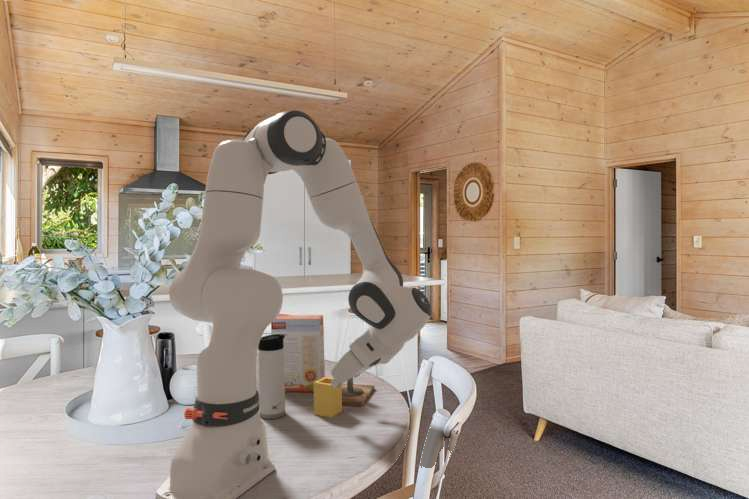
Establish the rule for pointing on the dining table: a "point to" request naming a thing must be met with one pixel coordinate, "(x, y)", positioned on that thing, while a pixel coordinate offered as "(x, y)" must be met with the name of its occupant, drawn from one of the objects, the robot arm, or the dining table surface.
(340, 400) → the collar
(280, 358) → the travel mug
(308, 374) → the cracker box
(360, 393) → the post board
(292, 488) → the dining table surface
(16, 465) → the dining table surface
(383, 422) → the dining table surface
